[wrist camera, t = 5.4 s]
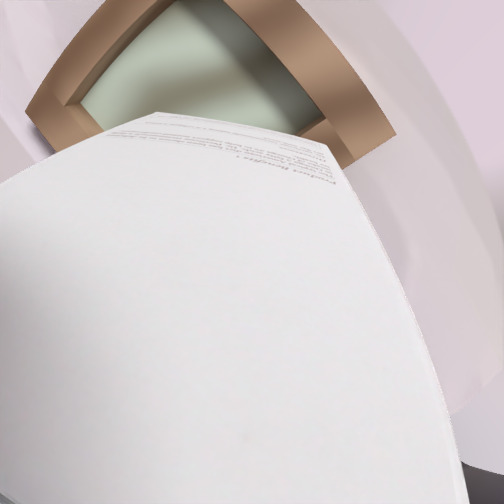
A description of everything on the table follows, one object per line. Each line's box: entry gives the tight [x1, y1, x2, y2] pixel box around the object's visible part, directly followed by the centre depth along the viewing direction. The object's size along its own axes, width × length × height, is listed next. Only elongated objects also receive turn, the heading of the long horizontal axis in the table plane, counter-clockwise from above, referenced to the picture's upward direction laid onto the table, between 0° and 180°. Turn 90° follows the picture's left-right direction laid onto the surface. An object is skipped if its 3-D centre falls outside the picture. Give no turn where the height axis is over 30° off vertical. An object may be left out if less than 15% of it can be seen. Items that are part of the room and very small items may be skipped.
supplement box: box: [0, 112, 469, 504], centre depth 8 cm, size 7×7×13 cm
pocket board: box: [25, 0, 397, 170], centre depth 17 cm, size 18×18×2 cm
